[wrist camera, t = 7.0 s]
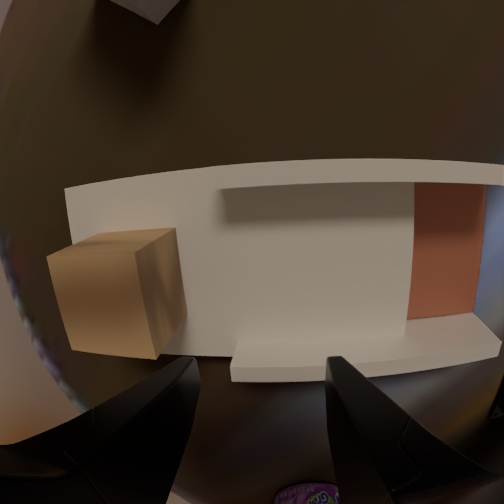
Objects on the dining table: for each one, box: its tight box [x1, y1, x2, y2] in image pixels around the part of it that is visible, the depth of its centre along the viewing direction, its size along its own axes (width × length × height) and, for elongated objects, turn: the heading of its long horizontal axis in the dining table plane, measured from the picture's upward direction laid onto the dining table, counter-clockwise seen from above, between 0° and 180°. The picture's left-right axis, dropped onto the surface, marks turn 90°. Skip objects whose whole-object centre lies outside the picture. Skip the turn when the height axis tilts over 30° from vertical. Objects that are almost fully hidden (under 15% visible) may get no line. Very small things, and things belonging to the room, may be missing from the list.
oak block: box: [47, 227, 187, 360], centre depth 16 cm, size 5×5×5 cm
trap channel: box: [65, 159, 504, 382], centre depth 17 cm, size 11×26×4 cm, turn 94°
